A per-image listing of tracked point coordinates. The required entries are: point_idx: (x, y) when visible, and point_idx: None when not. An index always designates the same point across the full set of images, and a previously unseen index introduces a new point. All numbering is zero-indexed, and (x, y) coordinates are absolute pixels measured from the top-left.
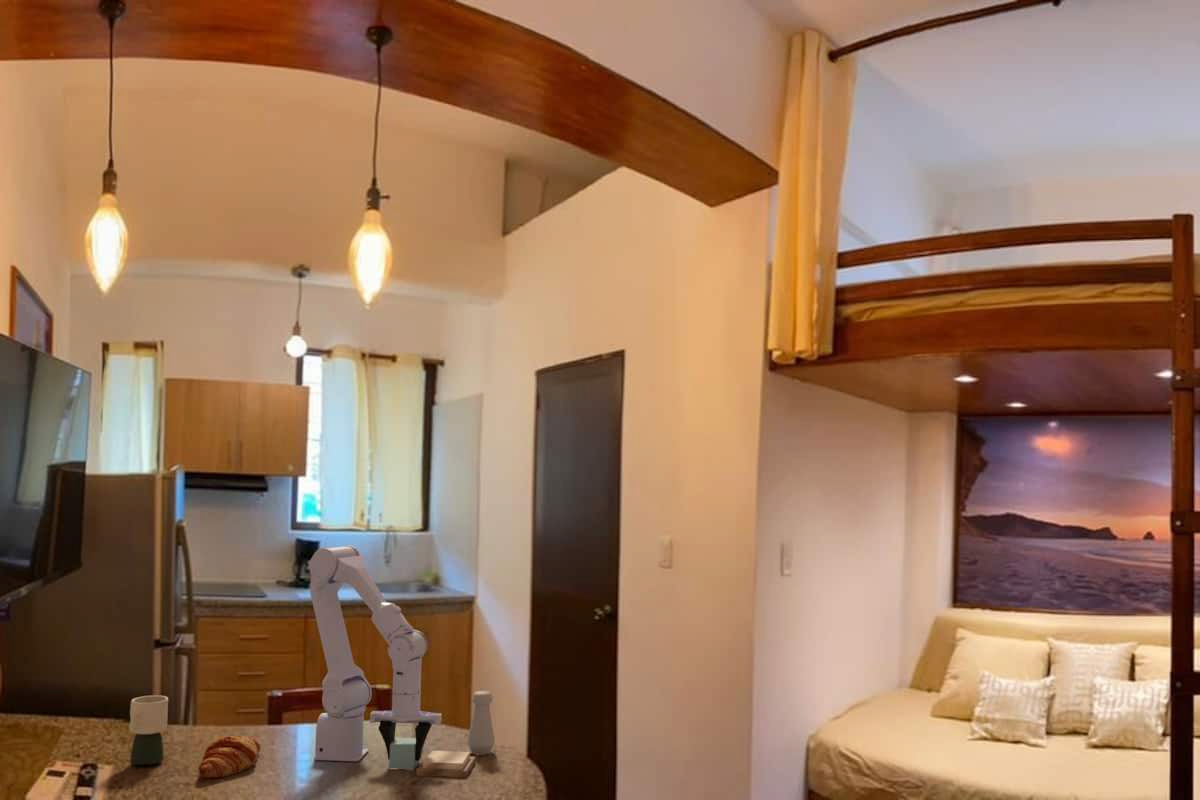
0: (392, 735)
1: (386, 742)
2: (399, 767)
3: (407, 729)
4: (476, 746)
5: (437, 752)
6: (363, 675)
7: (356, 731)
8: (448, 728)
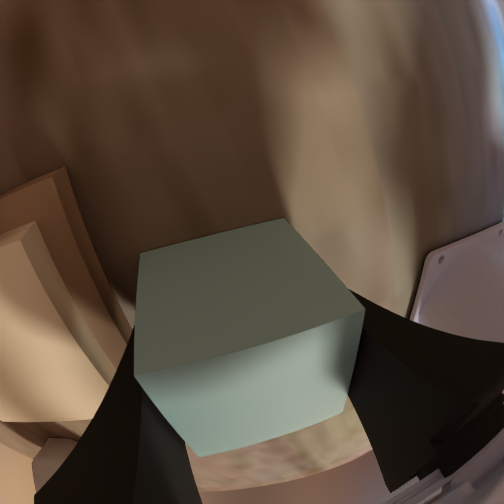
0: (376, 398)
1: (393, 322)
2: (226, 237)
3: (326, 457)
4: (51, 458)
5: (88, 403)
6: None
7: (499, 338)
8: (251, 486)
